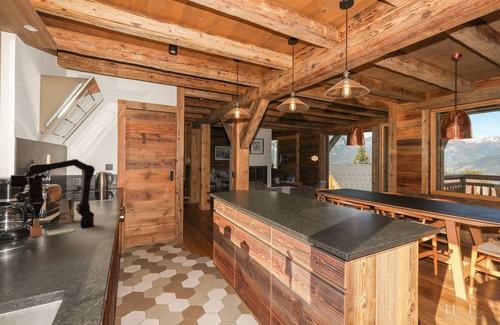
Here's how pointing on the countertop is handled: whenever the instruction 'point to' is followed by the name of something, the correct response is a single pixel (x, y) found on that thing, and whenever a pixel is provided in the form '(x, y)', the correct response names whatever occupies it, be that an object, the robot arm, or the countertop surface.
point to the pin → (35, 223)
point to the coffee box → (66, 210)
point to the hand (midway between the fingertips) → (36, 213)
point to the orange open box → (36, 231)
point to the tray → (60, 231)
